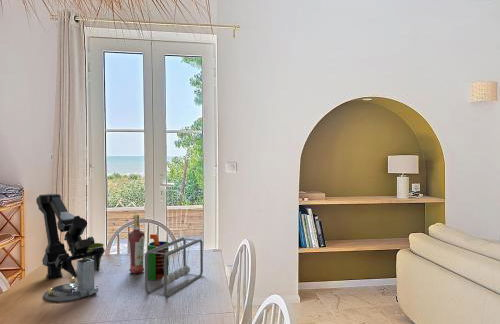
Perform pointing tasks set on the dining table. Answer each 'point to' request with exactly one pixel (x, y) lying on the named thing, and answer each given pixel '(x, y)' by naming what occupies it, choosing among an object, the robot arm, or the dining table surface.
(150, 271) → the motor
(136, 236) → the liquor
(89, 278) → the square pipe section
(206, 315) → the dining table surface
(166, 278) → the newton's cradle
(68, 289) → the disc
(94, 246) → the plant pot
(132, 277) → the dining table surface
